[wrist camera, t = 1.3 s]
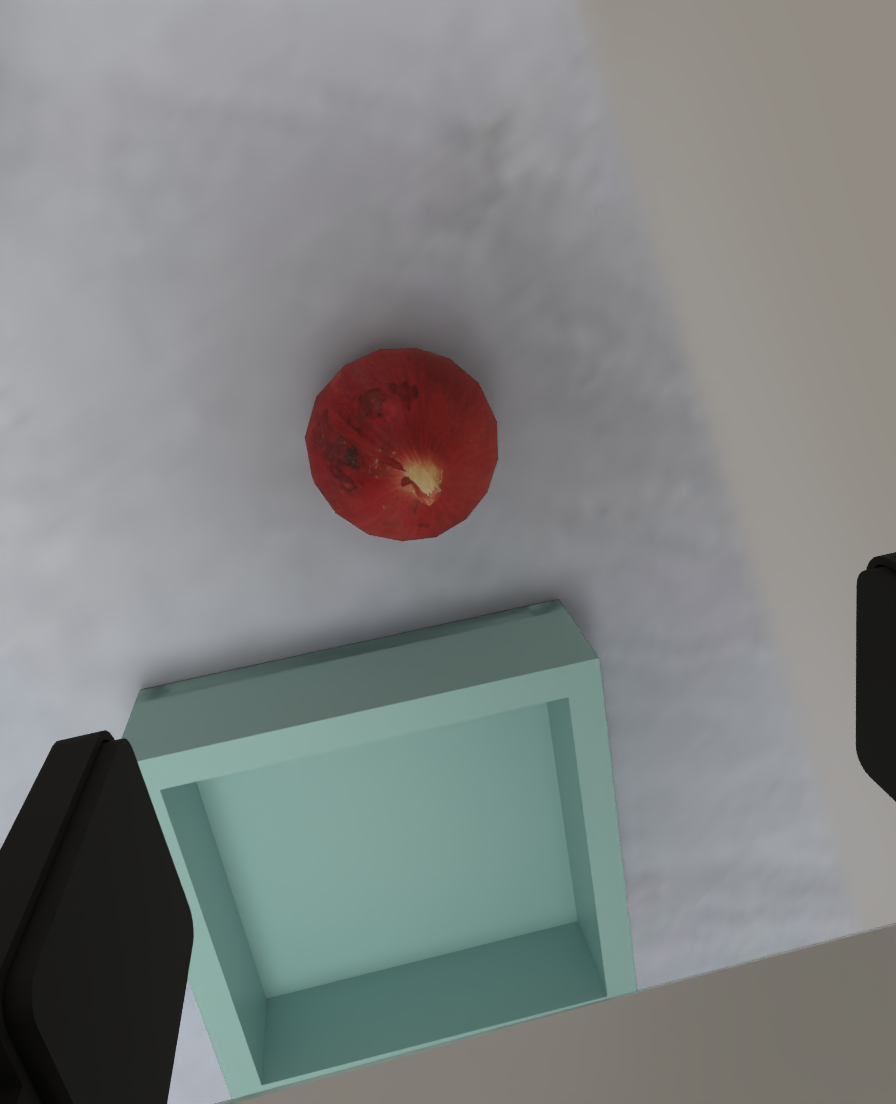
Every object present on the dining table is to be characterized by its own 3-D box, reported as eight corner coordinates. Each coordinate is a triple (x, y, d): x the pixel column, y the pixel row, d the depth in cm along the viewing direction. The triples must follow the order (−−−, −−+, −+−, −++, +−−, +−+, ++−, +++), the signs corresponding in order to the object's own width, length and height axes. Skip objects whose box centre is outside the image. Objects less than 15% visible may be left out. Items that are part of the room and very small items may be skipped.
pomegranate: (288, 477, 30) (282, 556, 22) (332, 313, 28) (340, 339, 21) (446, 519, 31) (489, 605, 24) (496, 364, 30) (559, 405, 22)
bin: (599, 918, 39) (639, 1011, 34) (246, 1007, 37) (237, 1115, 33) (558, 599, 33) (599, 658, 28) (139, 690, 32) (110, 767, 27)
